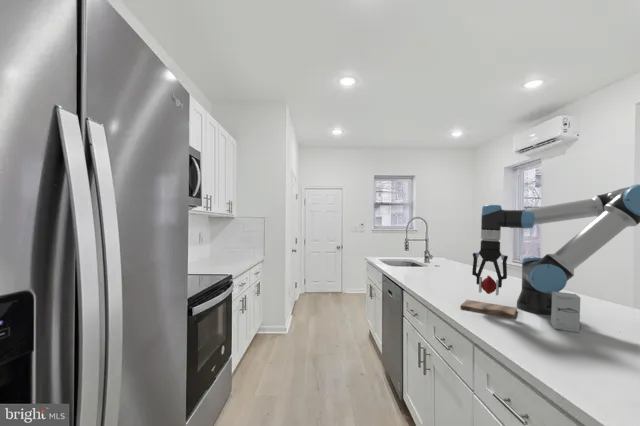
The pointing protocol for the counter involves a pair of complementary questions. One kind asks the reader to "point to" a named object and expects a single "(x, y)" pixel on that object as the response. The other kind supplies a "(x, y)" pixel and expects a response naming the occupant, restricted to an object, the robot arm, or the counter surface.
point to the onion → (488, 285)
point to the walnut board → (489, 308)
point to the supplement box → (565, 311)
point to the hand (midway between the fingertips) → (488, 293)
